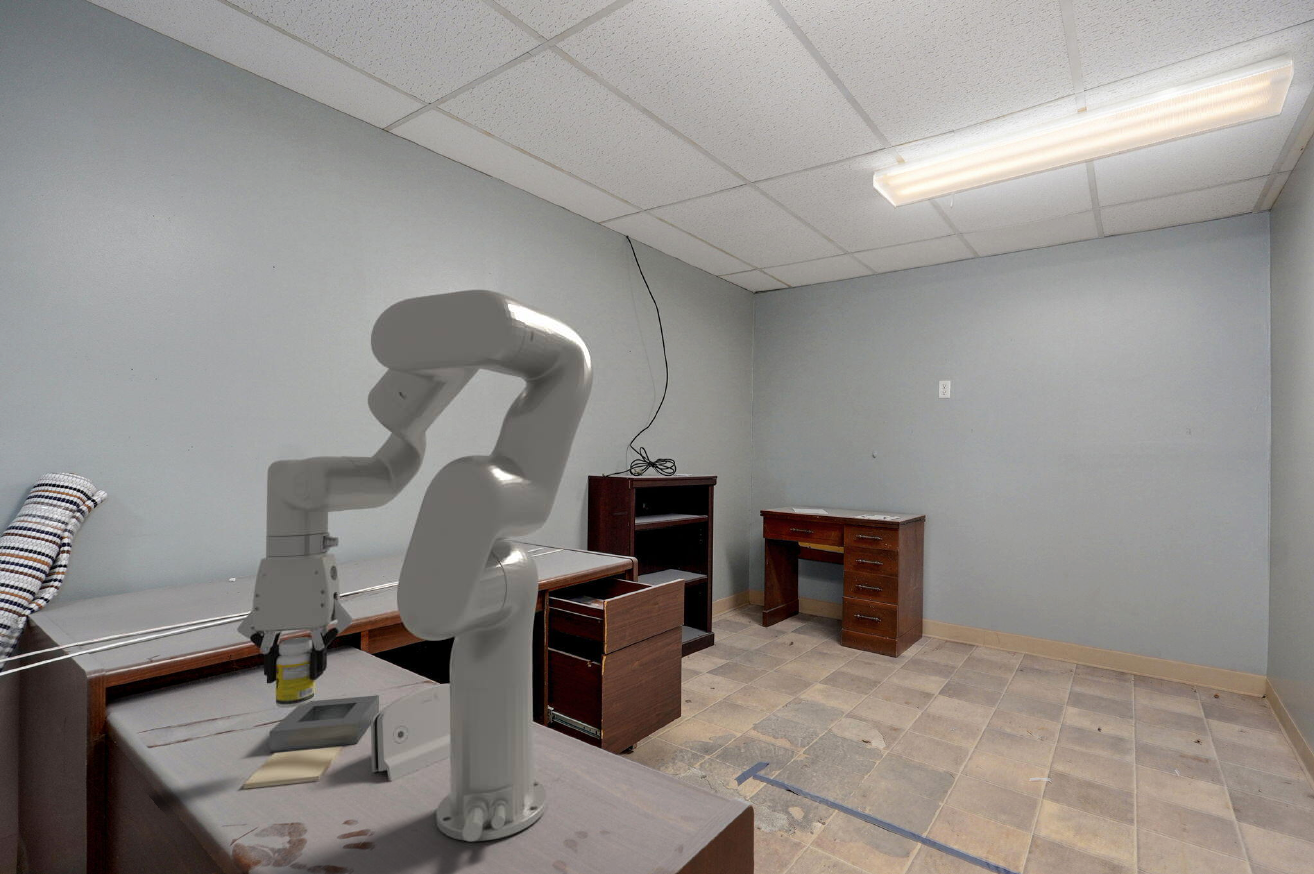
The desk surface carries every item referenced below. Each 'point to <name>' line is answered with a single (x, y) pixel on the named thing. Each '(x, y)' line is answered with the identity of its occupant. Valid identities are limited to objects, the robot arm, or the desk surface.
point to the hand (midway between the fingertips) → (295, 677)
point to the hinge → (412, 732)
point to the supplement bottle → (294, 673)
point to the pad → (293, 767)
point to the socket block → (324, 724)
